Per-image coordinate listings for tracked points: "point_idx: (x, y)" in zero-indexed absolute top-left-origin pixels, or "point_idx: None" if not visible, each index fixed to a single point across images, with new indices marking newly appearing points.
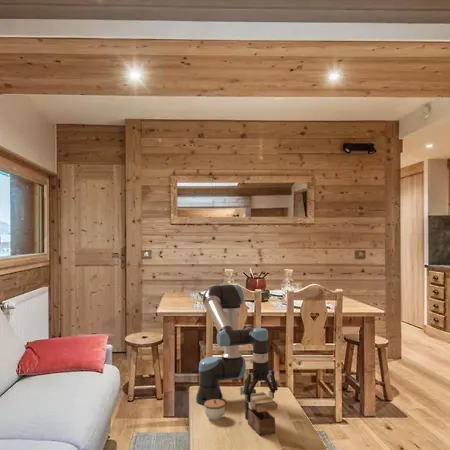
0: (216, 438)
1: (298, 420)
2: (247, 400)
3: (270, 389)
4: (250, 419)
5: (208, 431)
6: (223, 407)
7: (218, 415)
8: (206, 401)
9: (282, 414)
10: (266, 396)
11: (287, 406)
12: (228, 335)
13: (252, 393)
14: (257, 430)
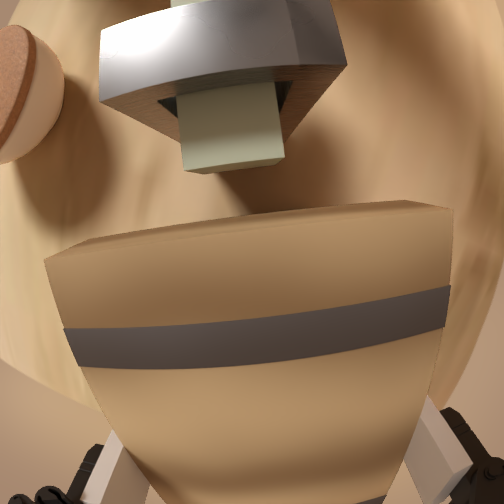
0: (34, 338)
1: (486, 254)
2: (92, 460)
3: (475, 493)
4: None
5: (4, 263)
6: (13, 131)
7: (17, 158)
8: None
9: (454, 149)
10: (402, 408)
11: (488, 72)
12: None
13: (251, 89)
14: None
